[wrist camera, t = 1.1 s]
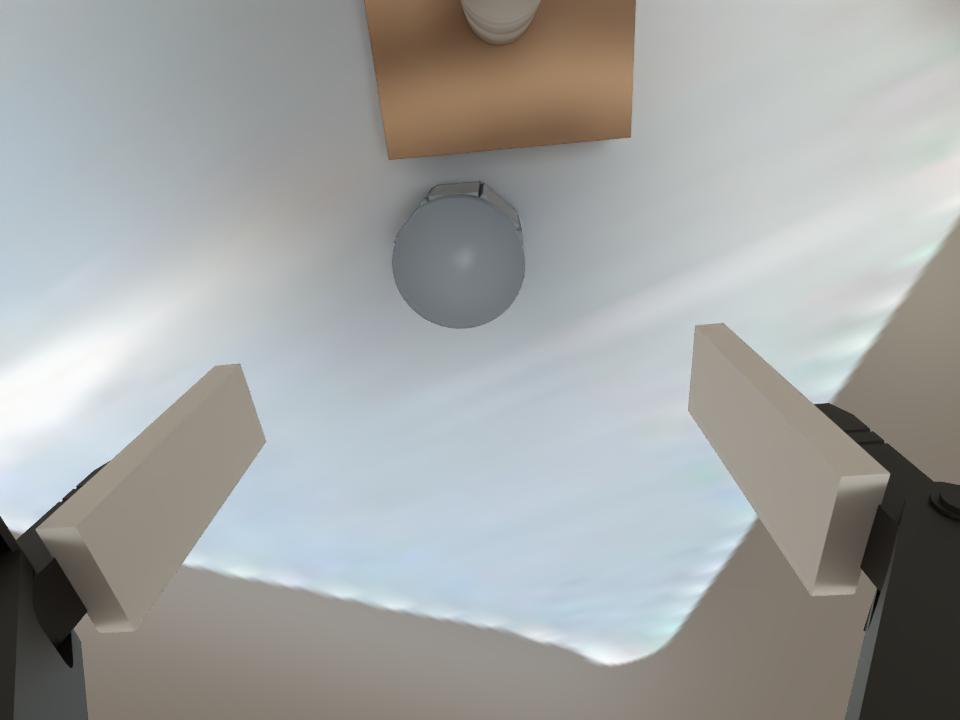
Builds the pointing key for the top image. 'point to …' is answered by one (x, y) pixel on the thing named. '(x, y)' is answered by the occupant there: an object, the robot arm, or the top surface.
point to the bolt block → (501, 73)
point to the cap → (460, 256)
